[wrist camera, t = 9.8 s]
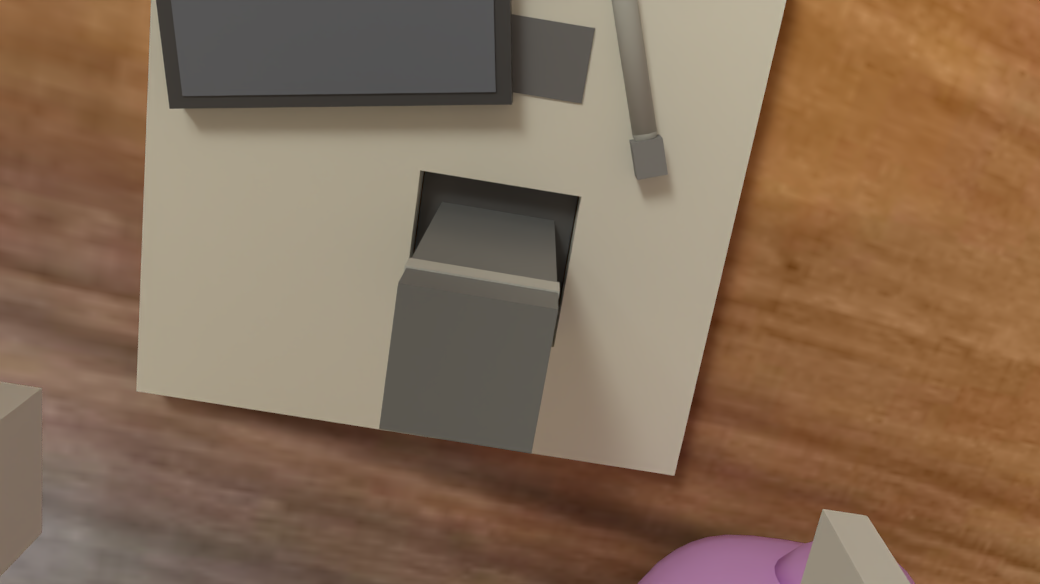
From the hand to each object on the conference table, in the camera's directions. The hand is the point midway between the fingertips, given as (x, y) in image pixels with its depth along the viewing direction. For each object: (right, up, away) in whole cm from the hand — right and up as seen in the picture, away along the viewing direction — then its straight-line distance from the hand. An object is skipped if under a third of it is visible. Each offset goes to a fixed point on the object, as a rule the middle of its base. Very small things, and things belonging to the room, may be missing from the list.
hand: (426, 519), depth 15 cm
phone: (-4, +13, +14) cm, 19 cm away
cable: (+5, +13, +14) cm, 19 cm away
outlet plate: (-1, +7, +17) cm, 18 cm away
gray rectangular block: (+1, +5, +17) cm, 18 cm away
